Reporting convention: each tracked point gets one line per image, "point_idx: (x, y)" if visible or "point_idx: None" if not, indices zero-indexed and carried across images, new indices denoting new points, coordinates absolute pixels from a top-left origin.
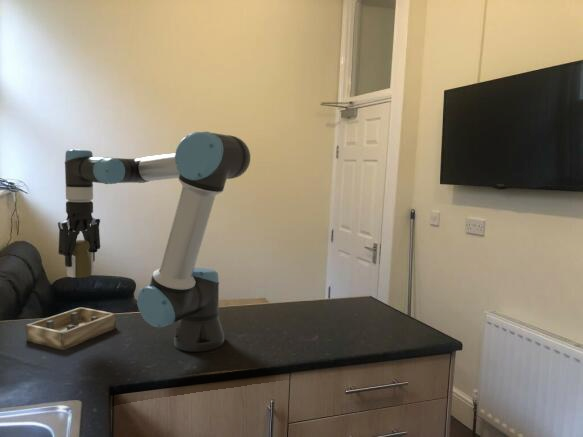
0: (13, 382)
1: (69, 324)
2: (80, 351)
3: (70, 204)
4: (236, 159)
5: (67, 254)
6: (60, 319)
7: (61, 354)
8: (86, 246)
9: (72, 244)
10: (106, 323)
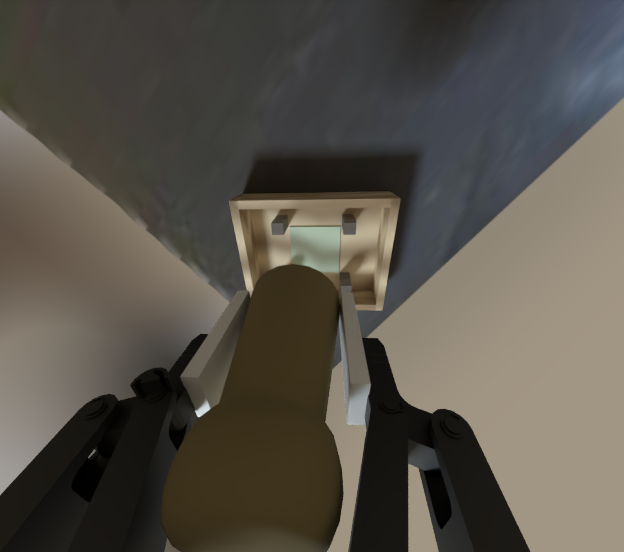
0: (568, 132)
1: None
2: (384, 146)
3: None
4: None
5: (414, 417)
6: None
7: (411, 173)
8: (246, 438)
9: (397, 531)
10: (265, 197)
